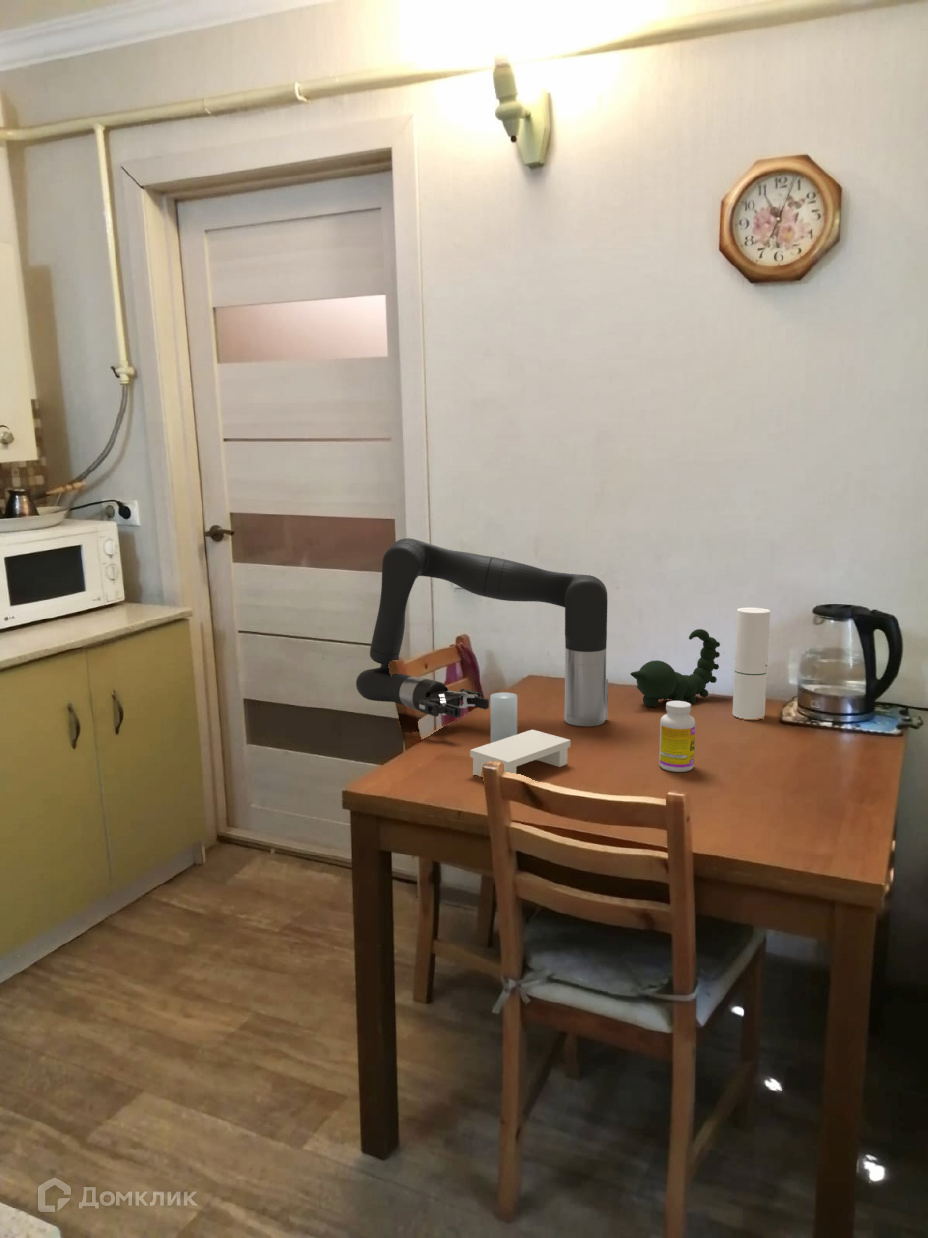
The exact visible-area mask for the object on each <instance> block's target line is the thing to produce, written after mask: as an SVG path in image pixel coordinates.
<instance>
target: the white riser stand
mask: <svg viewBox="0 0 928 1238" xmlns="http://www.w3.org/2000/svg"><path fill="white" fill-rule="evenodd" d="M568 748H571V739H570V738H569V739H568V738H565V737H561V736H557V735H554V734H550V733H548V732H547V733H546V732H543V731H539V730H536V729H530V730H529V729H528V730H526V731H523V732H521V733H517V735H514V736H511V737H508V738H505V739H502V740H499V741H496V742H493V743H491V742H490V743H486V744H484V745H481V746H477V747H475V748H472V749H470V750H469V758H472V775H473V776H474V775H479V776H481V772H482V767H483V765H484V764H485V763H486V762H489V761H501V762H502V763H503V764H504V771H505V772H510V773H516V774H517V767H519V766H522V765H524V764H527V763H529V762H533V761H539V762H541V763H545V764H549V765H552V766H555V767H558V768H561V767H563V766H565V765H568Z"/></svg>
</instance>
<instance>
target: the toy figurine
mask: <svg viewBox="0 0 928 1238" xmlns="http://www.w3.org/2000/svg"><path fill="white" fill-rule="evenodd" d="M694 638H698V639H699V641H700V640H701V641H702V648H701V649H700V651H699V652H700V653H699V654H700V656H699V657H700V658H699V659H698V660H697V662H696V666H697V667H696V668H695V669H694V670H693V672H692V674H691V673H690V675H688V674H682V673H680V672H677V671H675V669H674V668H673V667H672V666H671V664H669V663H667V662H665V661H662V660H650V661H648V662H646V663H645V664H642V666H640V669H639V670H635V671H632V672H630V676H631V677H633V678H634V679H635V680H636V688H637V690H639V692H640V693H641V695H643V697H642V702H643V703H644V705H645V706H647V707H649V708H655V707H656V706H658V704H659V701H660V700H670V701H687V702H688V703H690V704H692V703H693V704H695V703H696V702H697V697H696V696H697V695H699V696H700V697H702V698H706V697H708V696H709V691H708V690H707V689H706V687H707V685H708V684H709V683H711V684H715V683H716V682H717V681H718V679H717V677H716V676H715V675H713V671H714V670H715V671H717V670H719V668H720V665H719V664H718V663H716V661H715V659H717V658H719V657H720V656H721V655H720V654H721V653H720V652H719V651H717V650H716V649H717V648H719V647H720V646H721V642H719V641H717V639H716V638H714V637H711V636H710V633H709V631H707V630H706V629H702V628H699V629H698V628H697V629H695V630H693V631H692V632H690V634H689V636H688V640H690V641H691V640H693V639H694Z"/></svg>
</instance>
